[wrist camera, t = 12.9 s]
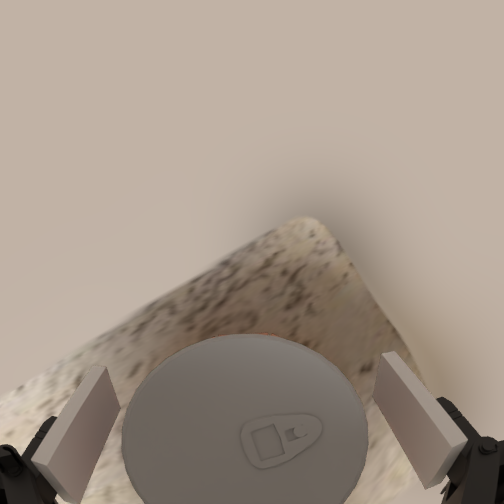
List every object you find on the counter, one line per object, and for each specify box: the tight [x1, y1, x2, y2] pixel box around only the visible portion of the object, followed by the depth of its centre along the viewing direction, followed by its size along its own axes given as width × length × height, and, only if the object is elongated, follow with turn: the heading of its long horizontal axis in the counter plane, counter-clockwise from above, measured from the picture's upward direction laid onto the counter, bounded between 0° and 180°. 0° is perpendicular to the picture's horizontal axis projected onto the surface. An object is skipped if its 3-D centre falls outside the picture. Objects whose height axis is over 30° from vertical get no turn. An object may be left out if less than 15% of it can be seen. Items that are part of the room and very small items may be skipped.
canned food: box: [122, 334, 368, 504], centre depth 12 cm, size 8×8×11 cm
